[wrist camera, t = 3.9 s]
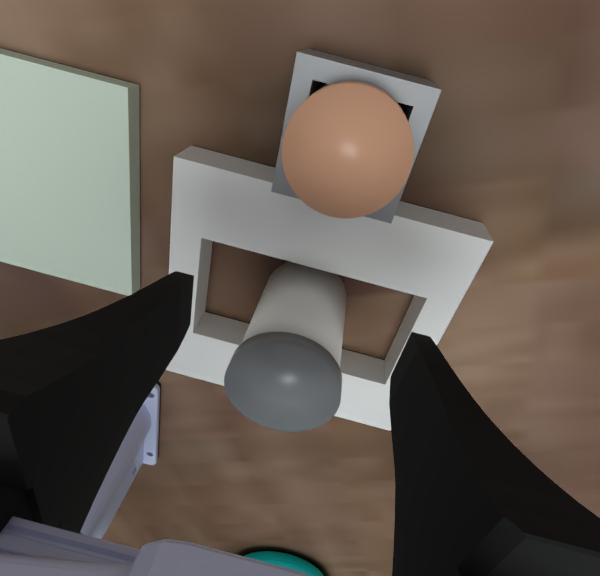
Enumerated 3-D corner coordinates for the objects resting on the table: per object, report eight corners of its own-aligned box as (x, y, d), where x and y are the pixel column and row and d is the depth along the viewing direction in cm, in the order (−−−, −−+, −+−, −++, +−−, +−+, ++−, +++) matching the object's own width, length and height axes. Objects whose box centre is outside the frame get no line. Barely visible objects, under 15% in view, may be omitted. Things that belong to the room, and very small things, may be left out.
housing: (389, 405, 26) (391, 445, 23) (178, 347, 26) (157, 381, 24) (541, 109, 16) (572, 124, 14) (199, 19, 16) (167, 17, 14)
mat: (140, 287, 24) (131, 296, 23) (-40, 239, 24) (-54, 246, 23) (139, 84, 18) (127, 87, 17) (-102, 21, 18) (-124, 20, 17)
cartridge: (336, 338, 24) (324, 443, 18) (257, 317, 24) (218, 414, 18) (360, 270, 21) (355, 366, 15) (271, 246, 21) (231, 332, 15)
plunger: (384, 191, 19) (387, 231, 15) (291, 166, 19) (271, 200, 15) (420, 87, 16) (435, 104, 12) (313, 58, 16) (296, 67, 12)
